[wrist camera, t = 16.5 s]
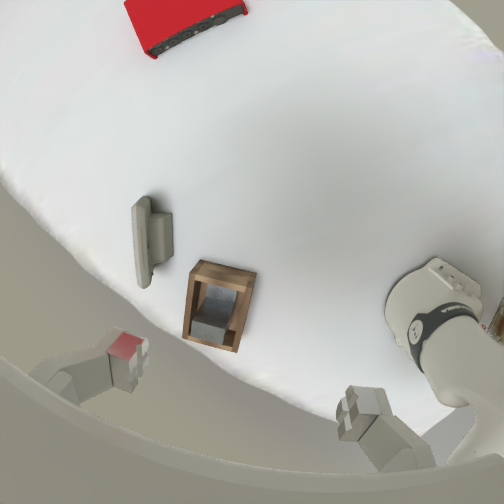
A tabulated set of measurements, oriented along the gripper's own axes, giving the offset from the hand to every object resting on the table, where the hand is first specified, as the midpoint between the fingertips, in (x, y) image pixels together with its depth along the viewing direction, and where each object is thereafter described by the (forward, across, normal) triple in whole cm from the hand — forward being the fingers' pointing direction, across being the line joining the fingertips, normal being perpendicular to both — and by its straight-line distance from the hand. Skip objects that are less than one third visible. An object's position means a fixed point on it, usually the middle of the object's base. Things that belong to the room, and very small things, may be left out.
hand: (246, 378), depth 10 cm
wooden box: (+37, +6, +18) cm, 42 cm away
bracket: (+36, +6, +18) cm, 41 cm away
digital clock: (+37, +20, +9) cm, 43 cm away
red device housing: (+38, +23, -33) cm, 55 cm away
